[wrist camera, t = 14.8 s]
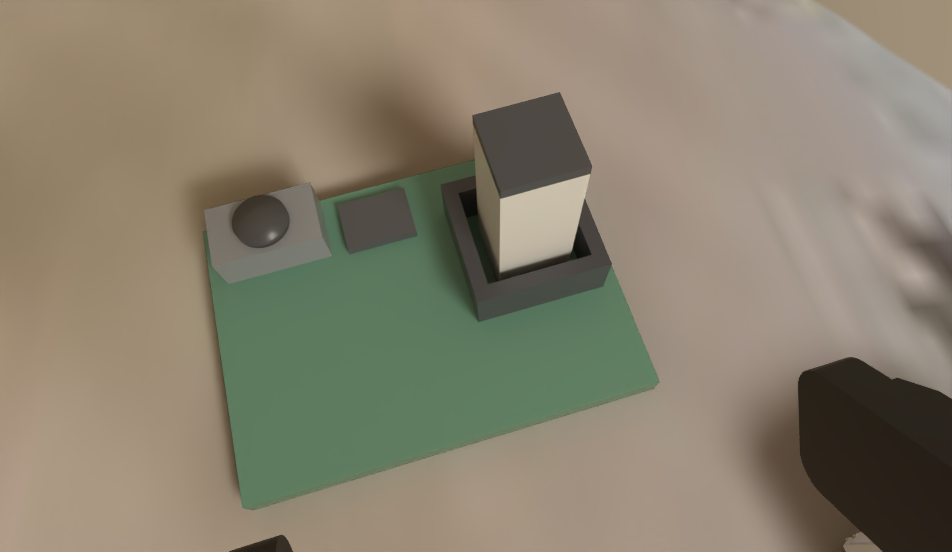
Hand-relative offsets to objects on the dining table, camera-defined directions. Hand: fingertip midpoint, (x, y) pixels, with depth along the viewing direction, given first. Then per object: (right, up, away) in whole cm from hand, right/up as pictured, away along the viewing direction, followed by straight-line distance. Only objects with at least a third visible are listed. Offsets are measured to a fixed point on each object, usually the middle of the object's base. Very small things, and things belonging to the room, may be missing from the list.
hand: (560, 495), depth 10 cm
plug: (+1, +5, +28) cm, 28 cm away
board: (-4, +1, +28) cm, 29 cm away
